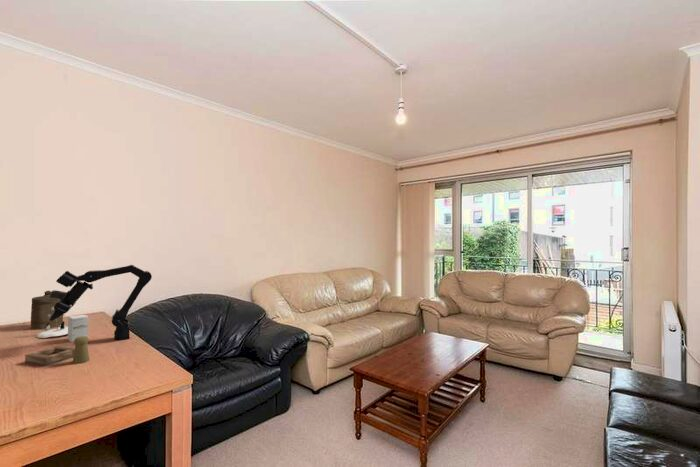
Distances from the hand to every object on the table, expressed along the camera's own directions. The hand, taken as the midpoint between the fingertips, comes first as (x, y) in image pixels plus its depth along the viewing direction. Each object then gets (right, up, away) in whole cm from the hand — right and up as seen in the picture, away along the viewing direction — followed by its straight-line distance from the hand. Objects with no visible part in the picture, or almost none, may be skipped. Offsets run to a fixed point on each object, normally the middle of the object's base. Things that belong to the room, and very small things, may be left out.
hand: (52, 318), depth 170 cm
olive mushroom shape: (+29, -15, -18) cm, 37 cm away
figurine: (-17, -15, +23) cm, 32 cm away
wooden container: (-38, -15, +39) cm, 56 cm away
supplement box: (+2, -15, +13) cm, 20 cm away
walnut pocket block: (+14, -15, -16) cm, 26 cm away
